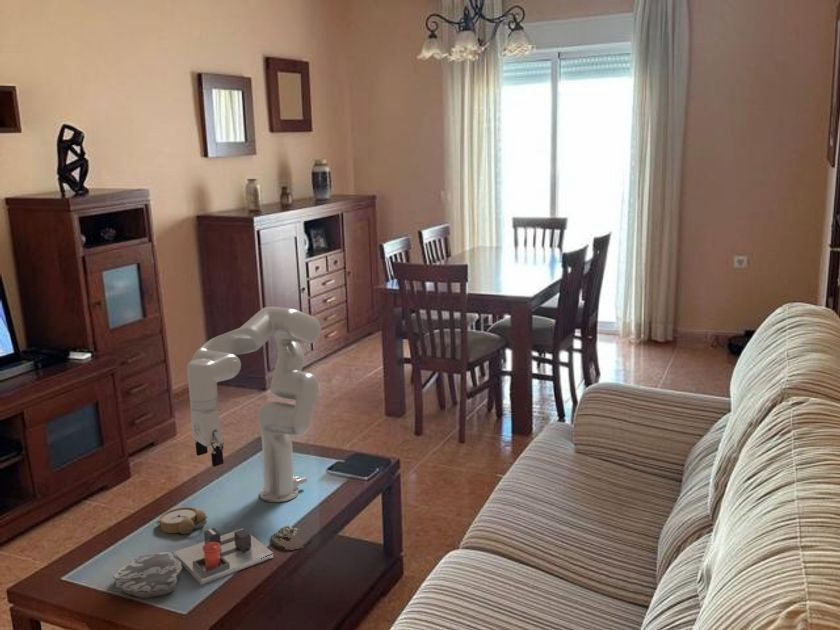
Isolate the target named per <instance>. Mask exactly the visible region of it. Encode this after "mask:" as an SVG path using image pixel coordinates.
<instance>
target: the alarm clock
mask: <svg viewBox="0 0 840 630" xmlns="http://www.w3.org/2000/svg"><path fill="white" fill-rule="evenodd" d="M207 519H208V516H207V515H206V513H205V510H202V509H197V508H196V507H191V506H184V507H183V506H182V507H181V506H180V507H178V508H177V507H176V508H173V509H170V510H168V511H166V512H164V513H162V514H161V515H160V516H159V520H158V521H156V524H160V530H161V531H162V532H164V533H167V534H179V533H180V534H181V535H189V534H191V533H192V532H193V530H194V529H199V528H202V527H203V526H205V525H206V524H207Z"/></svg>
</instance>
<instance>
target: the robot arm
mask: <svg viewBox="0 0 840 630" xmlns="http://www.w3.org/2000/svg"><path fill="white" fill-rule="evenodd" d="M321 332H322V328H321V324H320V322H319V320H318V319H317V318H316V317H314V316H311V315H309V314H307V313H304V312H303V311H300V310H298V309H295V308H291V307H279V306H265V307H263V308H261V309H260V310H258V312H256V313H255V314H254V315H253V316H252V317H251V318H249V320H247V321H246V322H245V323H244V324H243V325H242V326H240V327H239V328H236V329H233V330H231V331H227V332H225V333H223V334H220V335H217V336H215V337H212V338H211V339H209V340H208V341H206V343H204V344H203V345H202V346H200V347H199V348H198V349H197V351H195V353H194V354H193V355H192V358H191V360H190V361H189V362H188V363H187V365H186V375H187V382H188V383H187V384H188V392H189V403H190V405H189V406H190V428H191V431H190V432H191V437H192V438H193V439H194V442H195V451H196V452H195V453H196V456H197V457H199V456H202V455H206V454H208V451H209V450H208V447H210V450H211V453H210V455H211V456H210V457H211V458H210V459H211V465H212V467H214V468H215V467H218V466H221V465H223V464H224V453H223V452H224V442H225V441H224V439H223V438H222V427H221V426H222V425H221V420H220V416H219V415H220V414H219V411H218V409H219V407H220V405H219V395H218V394H219V393H218V386H217V384H218V383H219V382H220V383H221V382H223V381H228V380H231V379H233V378H235V377H236V376H237V375H238V374H239V373H240V371H241V367H242V363H241V359H240V358H239V357H238V356H237V355H244V354H249V353H252V352H253V353H254V352H256V351H258V350H260V349H261V348H262V347H263V346H264V345H265V344H266V343H267V342H268V341H269V340H270V339H271V338H272V337H274V340H275V342H276V345H277V351H278V353H277V354H278V356H277V360H276V364H275V367H274V371H273V375H272V379H271V382H270V393H271V394H272V395H273V396H274V397H276V398H280V399H283V400H289V401H295V403H294V404H293V403H286V402H282V401H281V402H280V401H267V402H265V403H263V404H262V405H261V406H260V407H259V409H258V411H257V424H258V427H259V431H260V436H261V447H262V466H263V467H262V468H263V486H264V487H262V488H261V490H259V497H260V499H261V500H263V501H265V502H270V503H282V502H288V501H291V500H293V499H294V498H295V499H296V497H297V496H298V495H299V492H300V490H299V491H298V489H299V486H300V485H301V484H305V483H307V481H308V480H307V477H306V476H304V477H303V476H302V477H300V476H298V475H297V476H294V462H293V461H294V460H293V458H294V457H293V442H292V439H291V436H295V437H296V436H297V437H299V436H304V435H305V434H306V433H308V431H309V429H310V427H311V425H312V420H313V416H314V412H315V408H316V404H317V401H318V396H319V391H320V390H319V389H320V385H319V380H318V378H317V376H315V375H314V374H313V373H311V372H307V371H306V372H305V371H302V370H303V365H304V361H305V354H304V351H303V347H302V346H301V344H300V343H302V344H303V343H304V344H313V343H315V342H316V341H318V339H319V338H320V336H321ZM215 445H216V446H215ZM214 446H215V447H214Z"/></svg>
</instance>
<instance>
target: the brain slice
mask: <svg viewBox="0 0 840 630" xmlns="http://www.w3.org/2000/svg"><path fill="white" fill-rule="evenodd" d="M182 572H183V565H182V564H181V561H179V560H177V559H176V558H175V557H174V554H173V553H172V552H171V551H159V552H155V553H154V552H153V553H149V554H145V555H140V556H139V557H138V558H135V559H133V560H131V561H129V562H128V563H126V564H124V565H123V566H122V567H120V568H118V569H117V570H116V572H114V574H113V575H112V577H113V579H115V580H116V581H115V582H114V587H115V588H116V589H117V590H118V591H121V592H124V593H126V594H128V595H130V596H135V597H137V598H142V599H144V598H148V599H149V598H153V597H156V596H157V597H162V596H165V595H167V594H171V593H172V592H173V591H174V590H175V589H176V586H177V583H178V581H179V577H180V576H181V574H182Z"/></svg>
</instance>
